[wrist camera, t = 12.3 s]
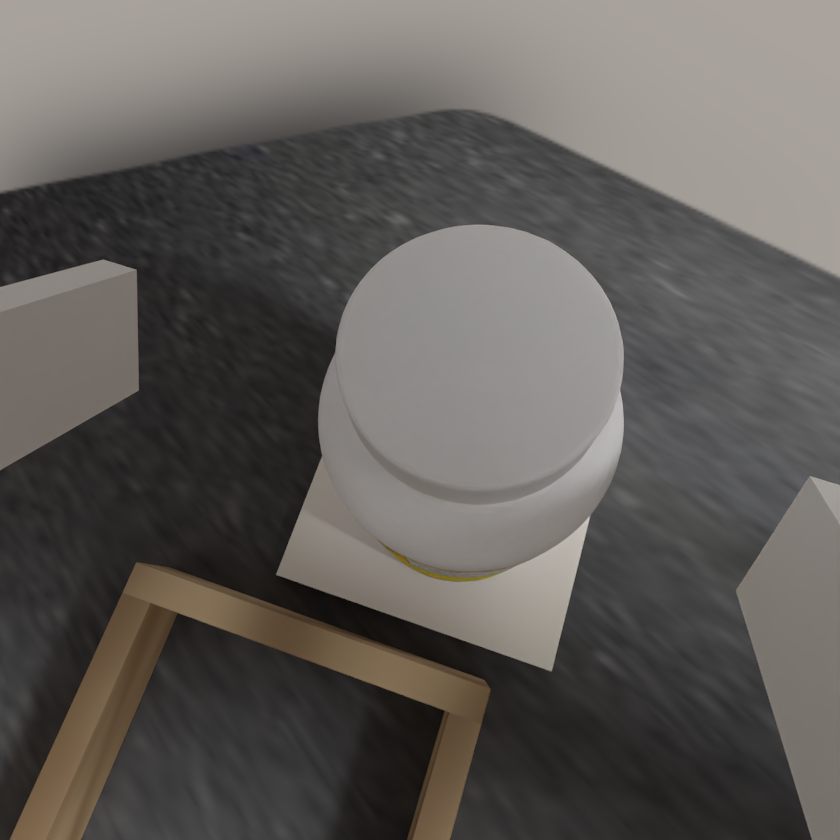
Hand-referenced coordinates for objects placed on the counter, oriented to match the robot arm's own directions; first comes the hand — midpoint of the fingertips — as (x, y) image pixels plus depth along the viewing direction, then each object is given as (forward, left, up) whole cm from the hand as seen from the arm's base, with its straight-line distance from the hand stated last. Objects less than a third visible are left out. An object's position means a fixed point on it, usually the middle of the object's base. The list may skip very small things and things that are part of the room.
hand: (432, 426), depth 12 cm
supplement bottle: (-1, -1, -11) cm, 11 cm away
